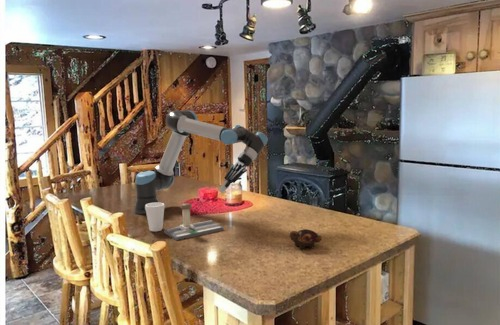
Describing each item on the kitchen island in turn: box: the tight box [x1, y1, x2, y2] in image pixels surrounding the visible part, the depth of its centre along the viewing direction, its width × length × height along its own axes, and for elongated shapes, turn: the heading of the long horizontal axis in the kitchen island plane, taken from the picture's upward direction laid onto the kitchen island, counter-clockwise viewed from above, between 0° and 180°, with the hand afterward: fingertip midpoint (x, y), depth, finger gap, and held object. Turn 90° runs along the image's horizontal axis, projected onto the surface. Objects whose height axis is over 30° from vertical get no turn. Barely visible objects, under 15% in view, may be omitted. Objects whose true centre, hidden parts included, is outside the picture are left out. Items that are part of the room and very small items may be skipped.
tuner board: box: [163, 219, 225, 241], centre depth 203 cm, size 14×26×3 cm, turn 125°
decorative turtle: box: [289, 228, 323, 250], centre depth 179 cm, size 10×15×8 cm, turn 114°
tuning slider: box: [178, 202, 195, 231], centre depth 198 cm, size 11×5×13 cm, turn 35°
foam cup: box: [145, 202, 166, 232], centre depth 207 cm, size 10×9×13 cm
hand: (220, 191), depth 211 cm, fingers closed
